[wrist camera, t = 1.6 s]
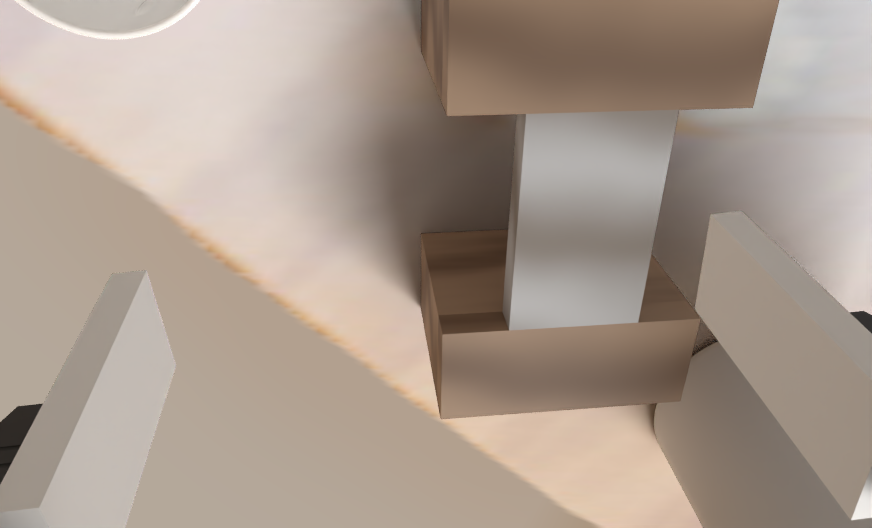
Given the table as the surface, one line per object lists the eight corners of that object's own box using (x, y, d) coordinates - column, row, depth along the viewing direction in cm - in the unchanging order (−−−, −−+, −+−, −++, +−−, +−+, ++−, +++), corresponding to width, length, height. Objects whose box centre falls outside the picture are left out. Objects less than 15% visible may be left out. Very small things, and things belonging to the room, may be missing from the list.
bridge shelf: (421, -62, 32) (450, -28, 24) (677, -62, 33) (786, -30, 25) (420, 307, 42) (440, 419, 34) (616, 296, 43) (680, 401, 35)
